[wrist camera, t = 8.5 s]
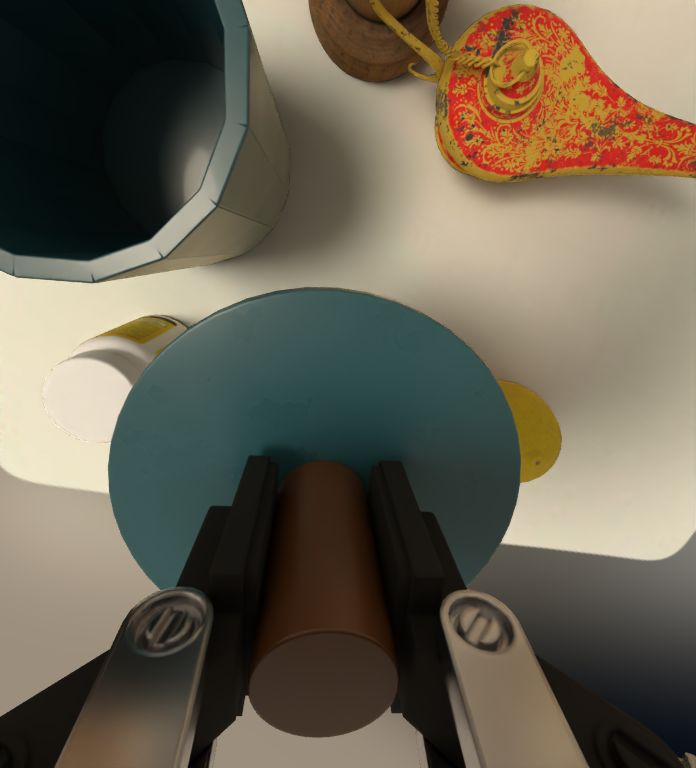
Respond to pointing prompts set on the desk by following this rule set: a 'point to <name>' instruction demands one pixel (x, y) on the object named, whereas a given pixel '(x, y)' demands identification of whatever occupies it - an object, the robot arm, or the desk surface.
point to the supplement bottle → (104, 376)
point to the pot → (133, 138)
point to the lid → (315, 476)
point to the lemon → (533, 430)
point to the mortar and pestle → (371, 35)
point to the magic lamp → (539, 104)
